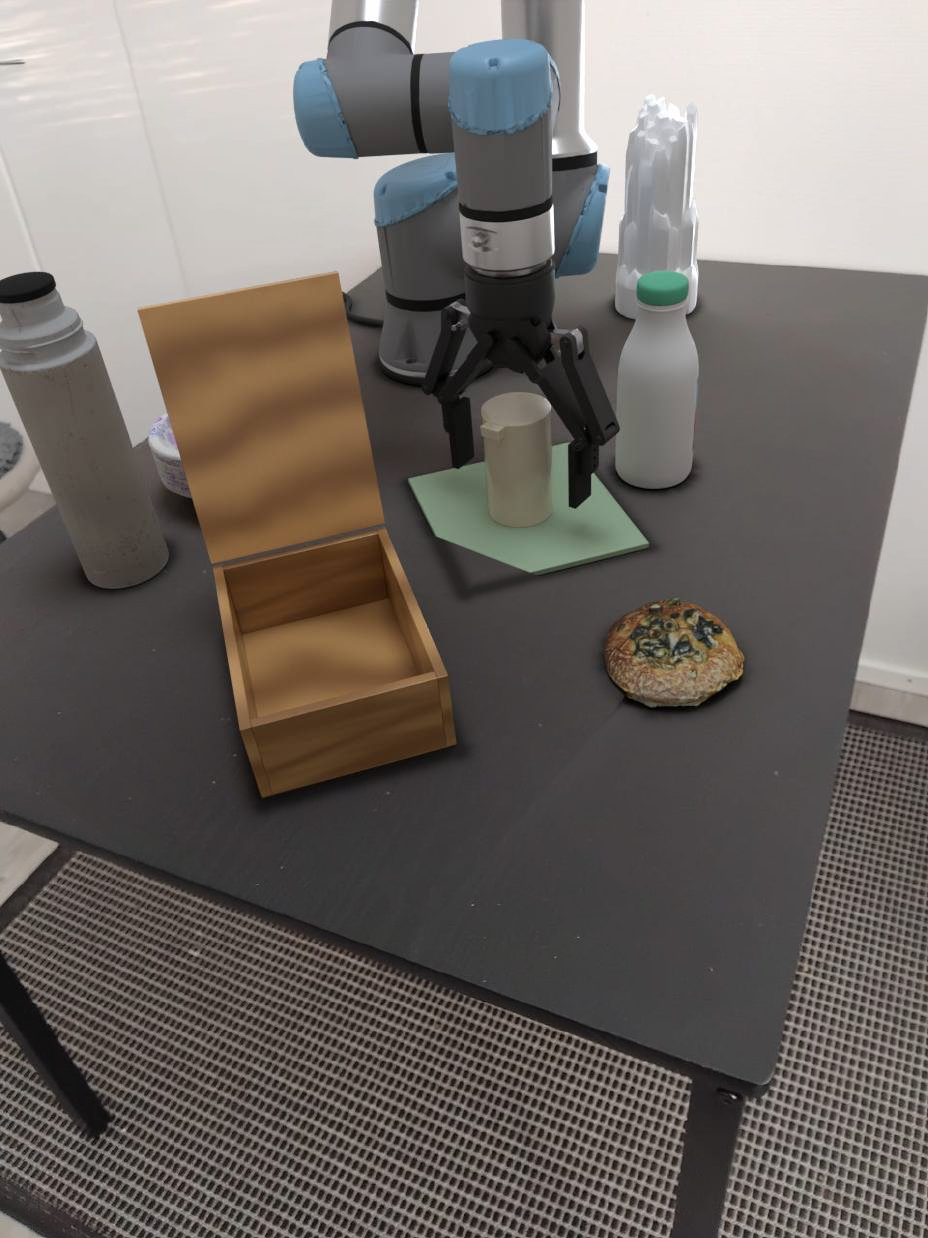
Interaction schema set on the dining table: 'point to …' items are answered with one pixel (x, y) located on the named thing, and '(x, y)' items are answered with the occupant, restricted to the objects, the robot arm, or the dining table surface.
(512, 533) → the mat
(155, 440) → the paper bowls
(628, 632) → the bread roll
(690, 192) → the decorative vase
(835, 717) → the dining table surface
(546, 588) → the dining table surface
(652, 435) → the milk bottle
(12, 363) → the thermos bottle
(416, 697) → the chest
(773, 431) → the dining table surface
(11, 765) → the dining table surface
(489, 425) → the jug
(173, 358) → the chest lid
